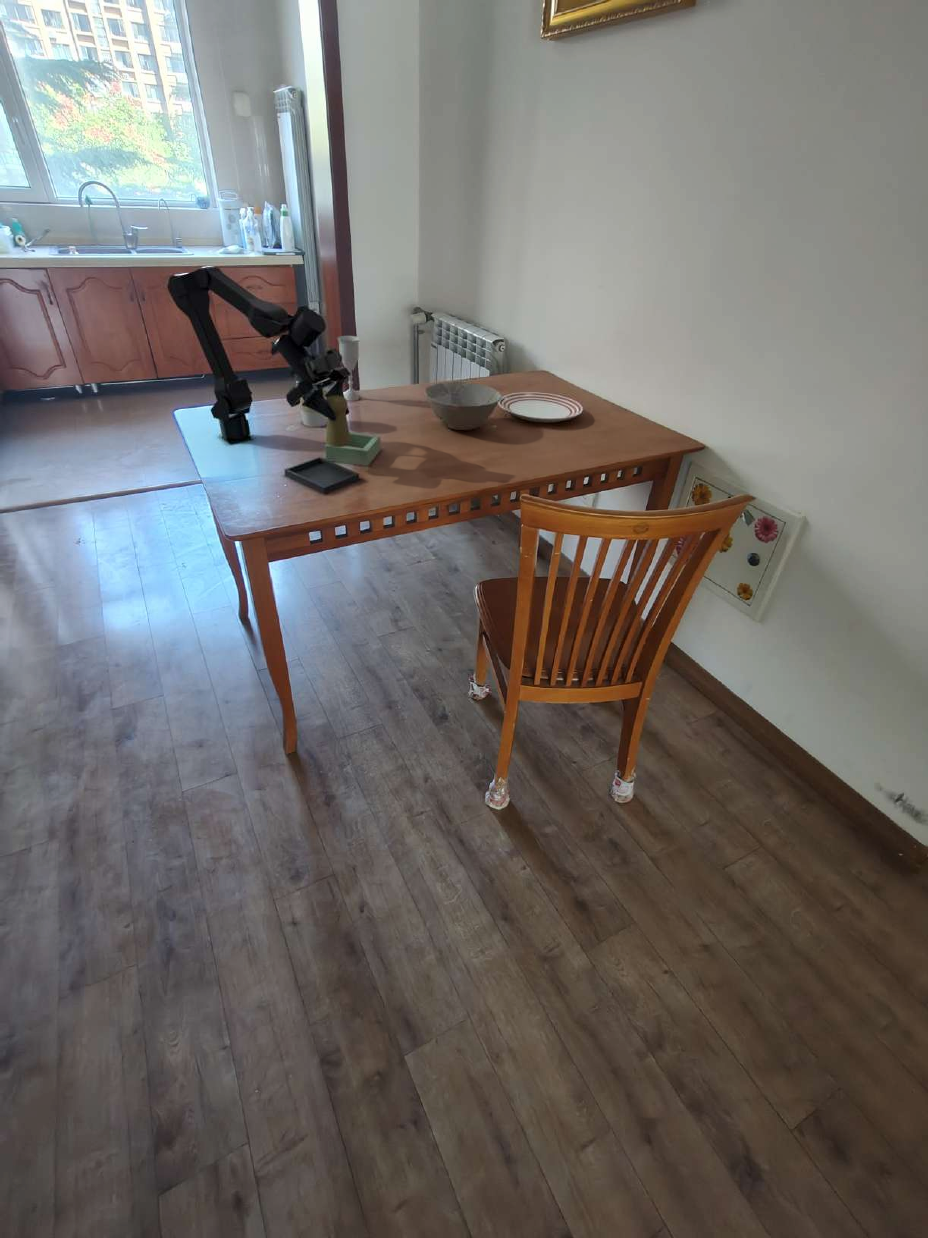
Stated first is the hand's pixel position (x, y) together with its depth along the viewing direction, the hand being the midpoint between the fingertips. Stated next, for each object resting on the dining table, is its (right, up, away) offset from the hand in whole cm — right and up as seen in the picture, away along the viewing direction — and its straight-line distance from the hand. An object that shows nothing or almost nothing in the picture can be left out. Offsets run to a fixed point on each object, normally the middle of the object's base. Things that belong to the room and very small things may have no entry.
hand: (341, 416), depth 141 cm
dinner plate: (+54, +19, +52) cm, 77 cm away
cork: (-2, -5, +5) cm, 7 cm away
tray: (-5, -14, +3) cm, 15 cm away
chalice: (-7, +24, +52) cm, 57 cm away
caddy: (0, -5, +15) cm, 16 cm away
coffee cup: (-14, +9, +32) cm, 36 cm away
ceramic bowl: (+28, +10, +38) cm, 48 cm away
